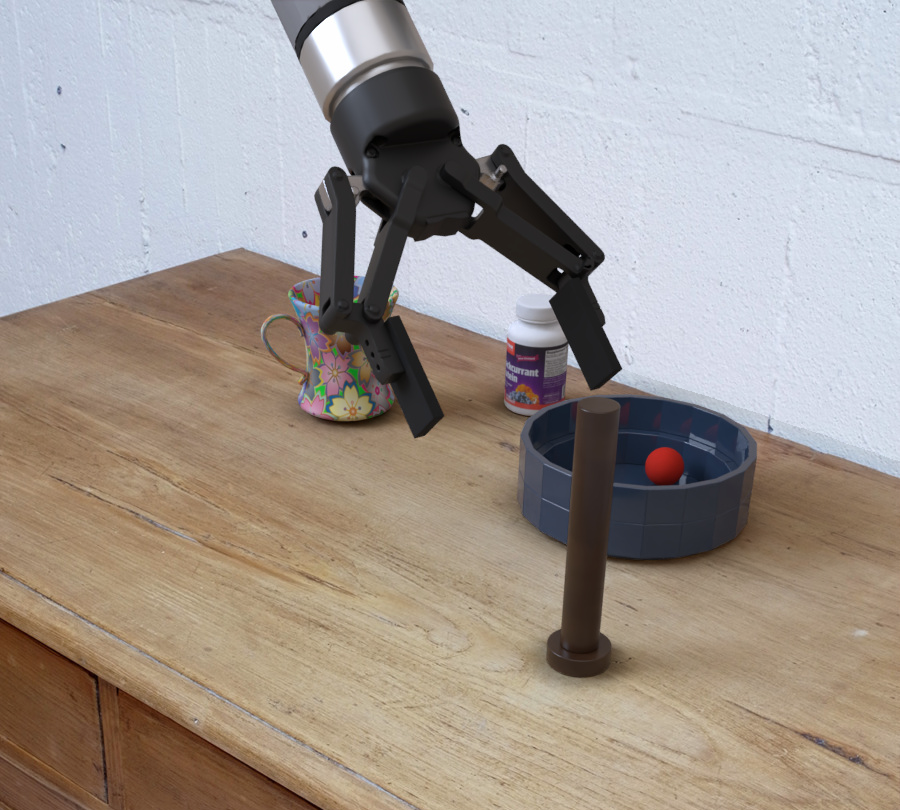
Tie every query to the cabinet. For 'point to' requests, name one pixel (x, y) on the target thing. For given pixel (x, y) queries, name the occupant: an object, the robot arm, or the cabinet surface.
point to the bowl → (645, 476)
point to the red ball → (664, 466)
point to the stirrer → (587, 542)
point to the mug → (333, 361)
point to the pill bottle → (535, 357)
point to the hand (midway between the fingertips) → (522, 403)
